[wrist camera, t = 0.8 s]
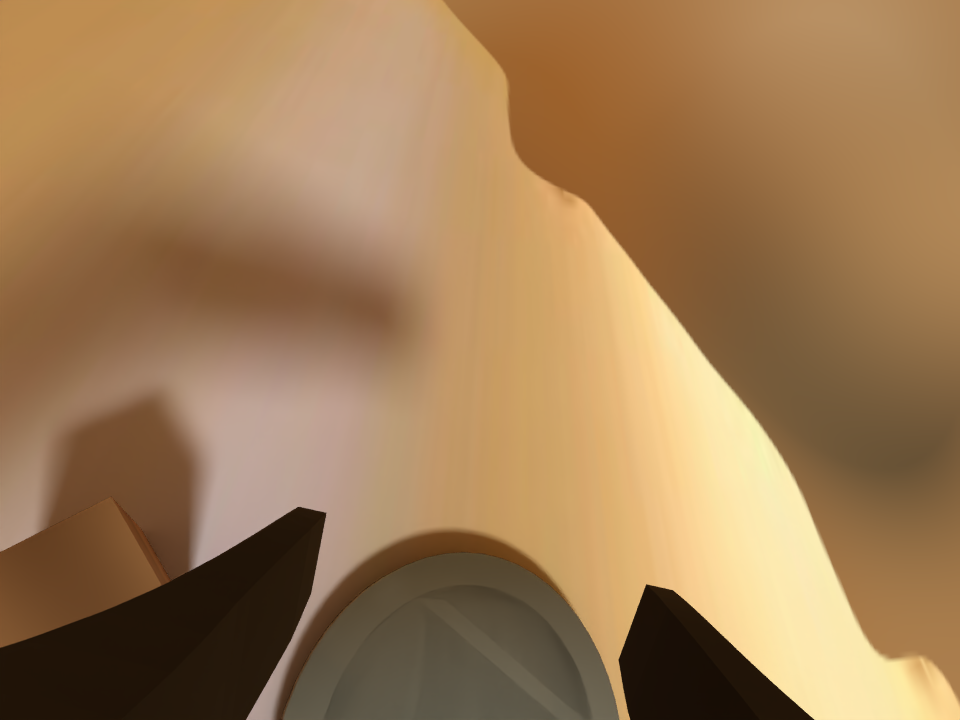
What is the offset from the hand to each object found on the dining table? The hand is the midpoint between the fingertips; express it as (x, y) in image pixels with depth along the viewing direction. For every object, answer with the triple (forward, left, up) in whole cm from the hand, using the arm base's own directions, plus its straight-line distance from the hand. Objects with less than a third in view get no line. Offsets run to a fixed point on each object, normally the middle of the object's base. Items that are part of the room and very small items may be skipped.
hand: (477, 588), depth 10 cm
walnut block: (-7, +7, -15) cm, 18 cm away
